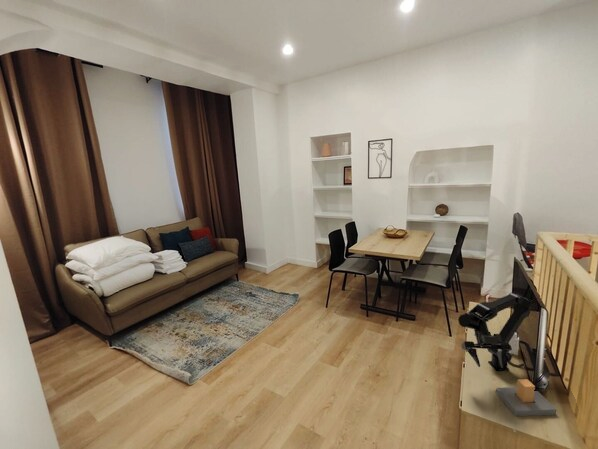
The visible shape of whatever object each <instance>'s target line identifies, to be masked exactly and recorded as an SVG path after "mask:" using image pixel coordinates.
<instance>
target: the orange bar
mask: <svg viewBox="0 0 598 449" xmlns="http://www.w3.org/2000/svg"><path fill="white" fill-rule="evenodd" d="M516 384H517V385H516V387H517V393H516V396H517V397H518V398H519V399H520V400H521V402H522V403H533V399H534V390H535V389H536V385H535V384H533V383H532V382H531V381H530V380H529V379H526V378H525V379H520V378H519V379H517V383H516Z"/></svg>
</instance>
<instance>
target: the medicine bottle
mask: <svg viewBox="0 0 598 449" xmlns="http://www.w3.org/2000/svg"><path fill="white" fill-rule="evenodd" d="M509 344H510V345H511V348H512V350H510V351H509V352H508V353H510V354H511V355H515V356H518V355H519V346H520V337H519V332H518V330H517V331H516V332H515V334H514V335H513V337H512V338H511V340H510V341H509Z"/></svg>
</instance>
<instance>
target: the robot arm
mask: <svg viewBox="0 0 598 449" xmlns="http://www.w3.org/2000/svg"><path fill="white" fill-rule="evenodd" d="M529 300H530V299H529ZM529 300H528V298H526V297H523V296H522V295H520V294H518V293H516V292H509V293H508V294H507V295H505V296H503V297H500V298H497V299H496V300H493V301H491V302H490V301H488V302H487V301H483V302H478V303H477V304H476V305H475V306H474V307H472V309H470V310H469V311H468V312H466V311H465V312H464V314H460V316H459V317H458V324H459V326H461V327H462V328H467V329H471V330H474V331H473V332H474V334H473V335H474V336H475V339H476V343H475V342H474V341H468V340H467V341H463V342H462V343H461V344H460V345H461V349H462V350H463V351H465V352H466V353H468V354H469V355H470V356H471V358H472V359H473V360H474V362H475V363H476V365H477V366H478V367H479V368H480V367H481V363H480V359H479V355H478V353H477V349H484V350H485V349H486V350H487V352H489V353H491V359H490V360H488V364H489V365H490V366H491V367H492V368H493V369H494V370H495V371H497V372H501V371H510V367H508V363H509V362H510V361H511V360H512V359H513V354H511V353H508V352H509V351H510V350H512V348H511V345H510V344H509V341H510V340H511V338H512V337H513V335H514V334H515V332H516V331H517V332H518V329H519V327H520V326H521V324H522V323H523V321H524V320H525V318H527V317H530V316H529V314H530V308H531V301H532V300H531V301H529ZM510 307H512V309H513V312H512V313H511V315H510V316H509V318H508V319H507V321H506V323H505V324H504V325H503V327H502V329H500V331H499V333H493V335H492V334H491V333H492V332H490V331H489V327H488V325H487V322H489V321H491V320H492V319H494V318H496V317H497V316H498V314H499V312H501V311H504V310H506V309H508V308H510Z"/></svg>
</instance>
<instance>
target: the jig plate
mask: <svg viewBox="0 0 598 449" xmlns="http://www.w3.org/2000/svg"><path fill="white" fill-rule="evenodd" d="M516 393H517V386H508V387H496V388H495V394H496V395H497V396H498V397H499V399H500V400H501V401H502V402H503V403H504V404H505V405H506V406H507V408H508V409H509V410H510V411H511V413H512V412H513V413H512V414H513V415H514V416H515V417H521V416H522V417H523V416H524V417H525V416H527V417H529V416H545V415H546V416H549V415H550V416H553V415H557V410H558V409H557V408H556V407H555V406H554V405H553V404H552V403H551V402H550V401H549V400H547V398H546V397H545V396H543V394H541V393H540V392H539V391H538V390H537V391H534V399H533V403H522V402H521V400H520V399H519V398H518V397H517V396H516ZM528 415H529V416H528Z"/></svg>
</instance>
